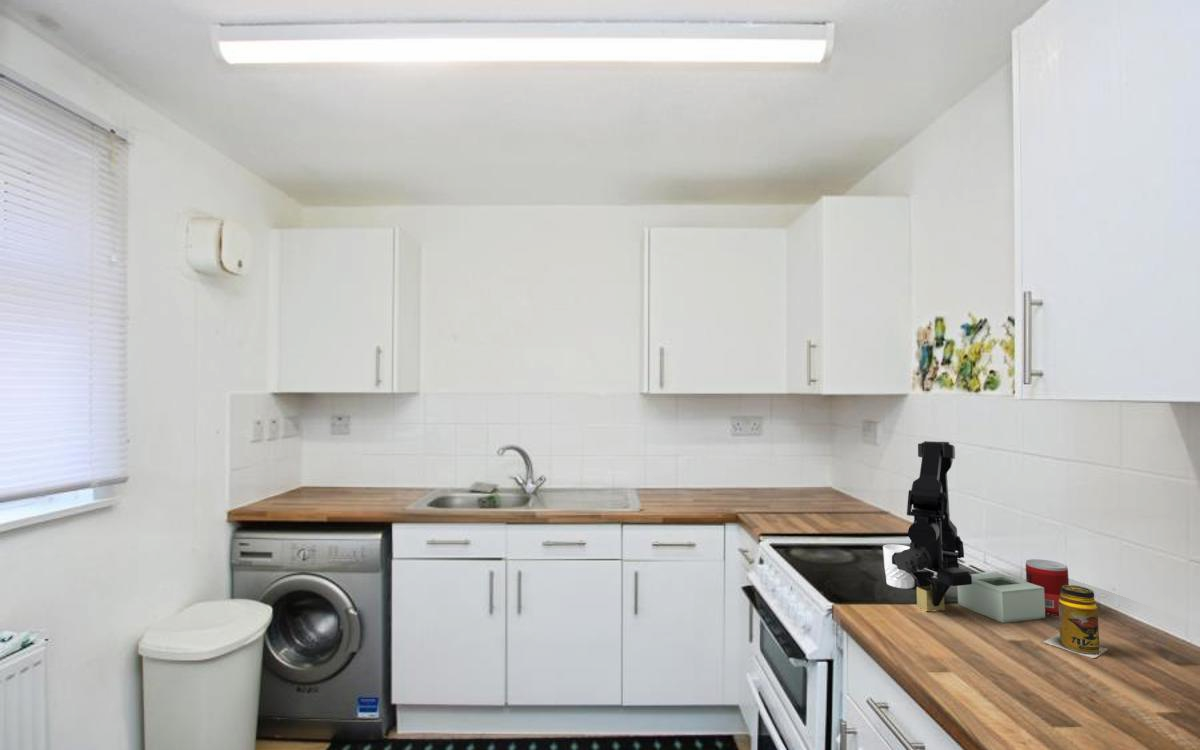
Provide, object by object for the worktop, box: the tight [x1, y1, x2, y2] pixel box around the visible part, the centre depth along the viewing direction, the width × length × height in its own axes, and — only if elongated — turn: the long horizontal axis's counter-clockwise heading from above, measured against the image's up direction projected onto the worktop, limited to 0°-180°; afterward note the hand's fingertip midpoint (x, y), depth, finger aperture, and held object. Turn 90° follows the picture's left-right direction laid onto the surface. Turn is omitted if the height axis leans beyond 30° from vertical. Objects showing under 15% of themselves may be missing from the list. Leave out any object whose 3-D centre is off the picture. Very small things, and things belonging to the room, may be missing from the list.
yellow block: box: [916, 585, 945, 612], centre depth 133 cm, size 3×5×5 cm, turn 103°
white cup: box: [882, 543, 915, 590], centre depth 151 cm, size 8×8×10 cm
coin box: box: [956, 571, 1046, 624], centre depth 132 cm, size 12×12×7 cm
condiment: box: [1042, 584, 1109, 659], centre depth 113 cm, size 7×8×12 cm
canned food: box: [1025, 558, 1070, 616], centre depth 133 cm, size 8×8×11 cm
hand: (930, 603), depth 133 cm, fingers closed on yellow block, 3 cm apart
